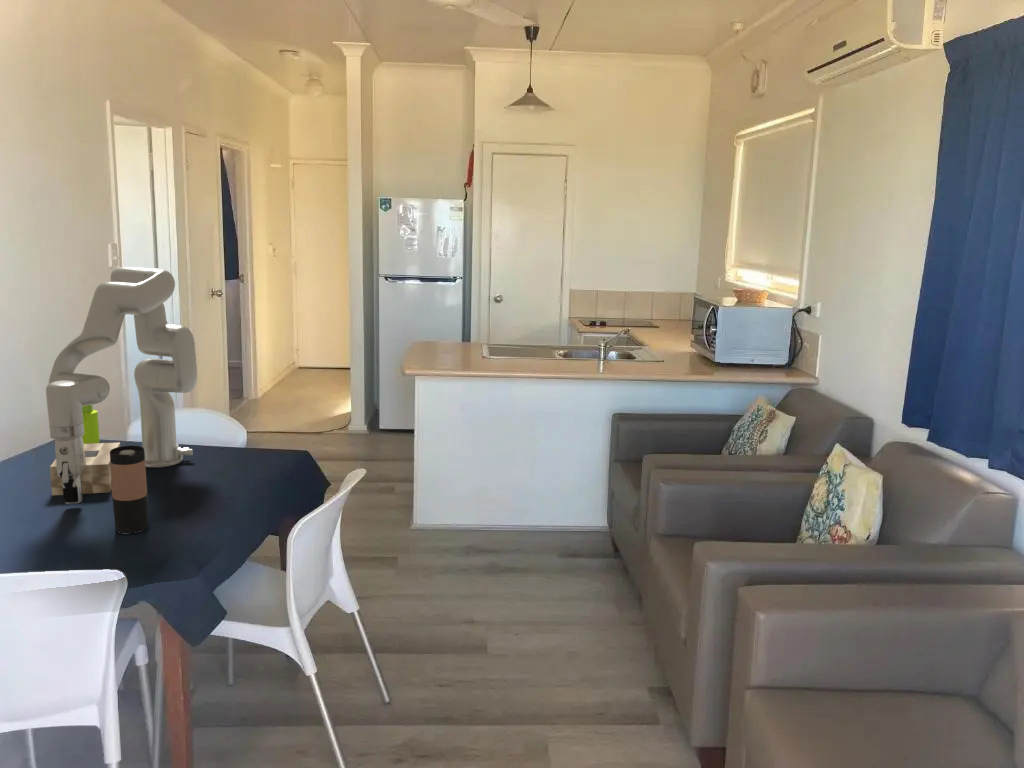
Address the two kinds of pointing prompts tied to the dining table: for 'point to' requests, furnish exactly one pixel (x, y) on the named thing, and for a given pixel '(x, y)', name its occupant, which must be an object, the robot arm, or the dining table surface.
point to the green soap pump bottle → (90, 425)
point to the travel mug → (129, 488)
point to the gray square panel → (91, 453)
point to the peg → (78, 484)
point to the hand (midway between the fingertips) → (73, 497)
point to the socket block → (90, 471)
